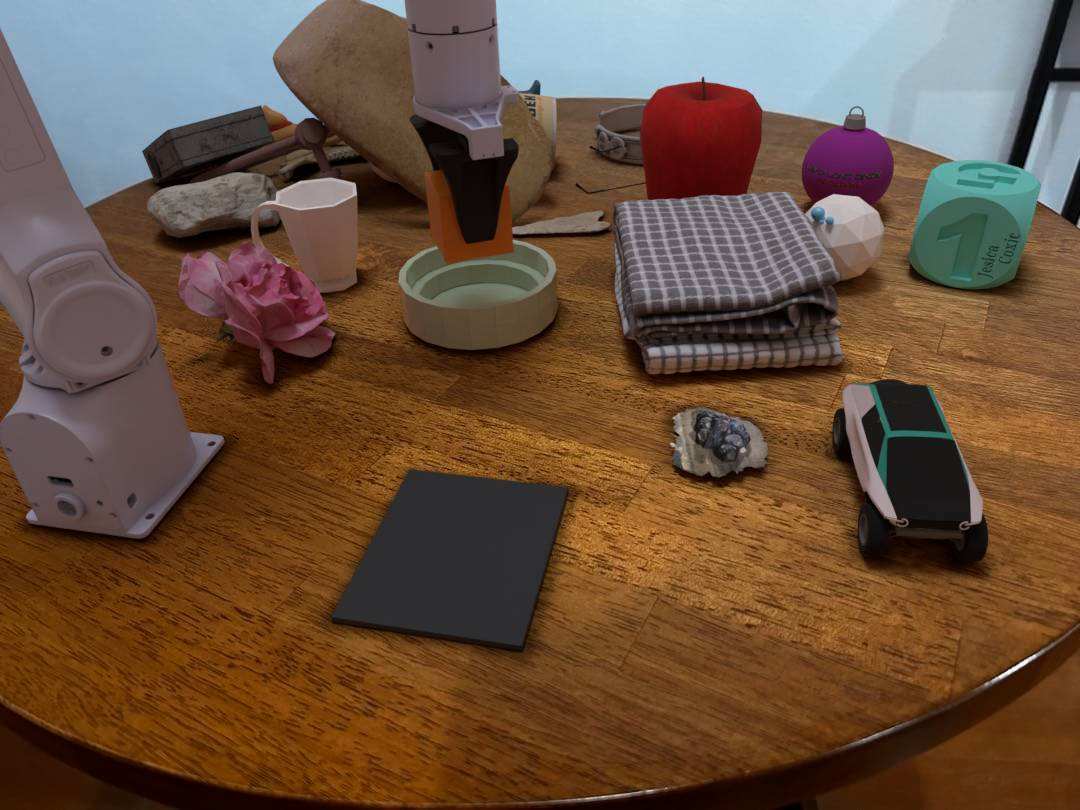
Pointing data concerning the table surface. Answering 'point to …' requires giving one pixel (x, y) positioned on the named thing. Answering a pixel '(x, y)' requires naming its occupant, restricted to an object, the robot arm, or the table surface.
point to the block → (448, 228)
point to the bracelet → (608, 139)
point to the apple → (699, 140)
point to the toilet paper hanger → (283, 152)
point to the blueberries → (716, 443)
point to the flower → (257, 303)
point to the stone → (388, 96)
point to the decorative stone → (214, 204)
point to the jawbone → (309, 158)
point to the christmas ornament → (848, 162)
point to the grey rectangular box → (207, 143)
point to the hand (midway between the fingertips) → (469, 225)
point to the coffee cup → (544, 116)
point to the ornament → (848, 232)
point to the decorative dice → (973, 223)
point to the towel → (725, 283)
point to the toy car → (908, 469)
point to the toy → (287, 128)
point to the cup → (319, 229)
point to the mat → (457, 560)
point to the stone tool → (566, 224)
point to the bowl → (479, 297)
